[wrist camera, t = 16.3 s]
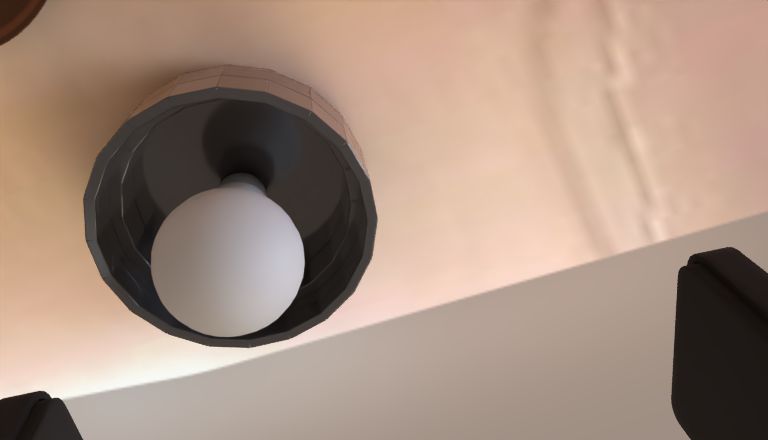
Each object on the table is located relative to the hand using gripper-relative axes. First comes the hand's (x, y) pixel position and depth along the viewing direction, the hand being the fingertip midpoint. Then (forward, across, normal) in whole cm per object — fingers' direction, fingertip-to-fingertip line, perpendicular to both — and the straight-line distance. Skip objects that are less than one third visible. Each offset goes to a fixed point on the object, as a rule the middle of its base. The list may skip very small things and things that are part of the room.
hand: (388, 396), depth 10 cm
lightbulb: (+24, +6, +6) cm, 26 cm away
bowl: (+25, +6, +6) cm, 26 cm away
